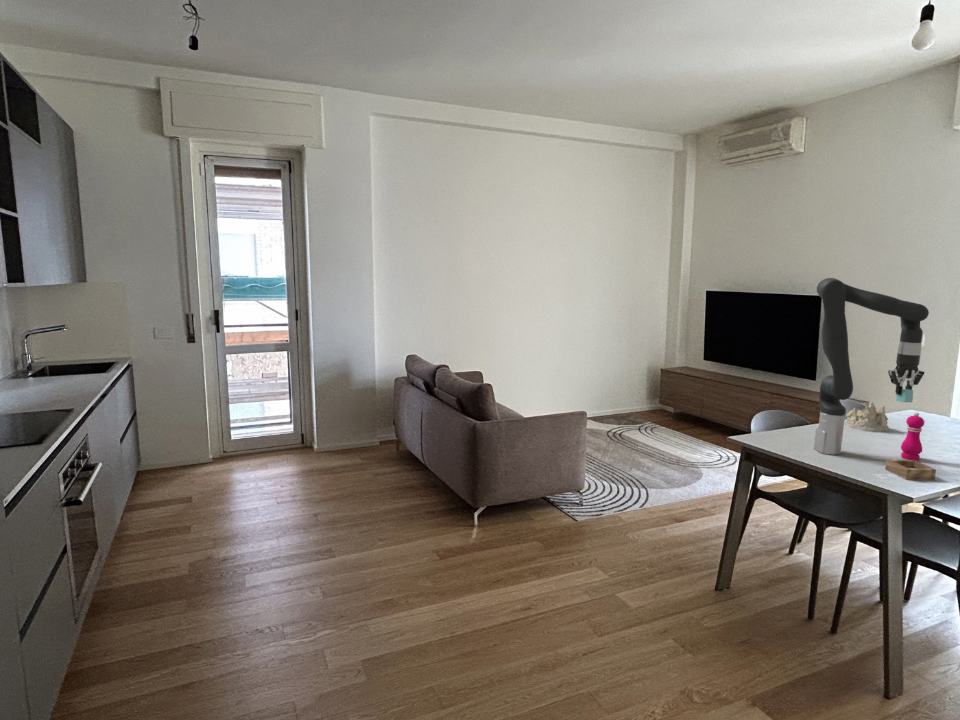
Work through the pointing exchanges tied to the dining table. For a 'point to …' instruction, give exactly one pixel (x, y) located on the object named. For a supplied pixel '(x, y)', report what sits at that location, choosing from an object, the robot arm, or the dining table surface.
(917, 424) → the pepper mill
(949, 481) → the dining table surface
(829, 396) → the robot arm
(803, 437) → the dining table surface
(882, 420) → the cream rough lump
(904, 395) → the teal block
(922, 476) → the wooden tray
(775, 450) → the dining table surface
